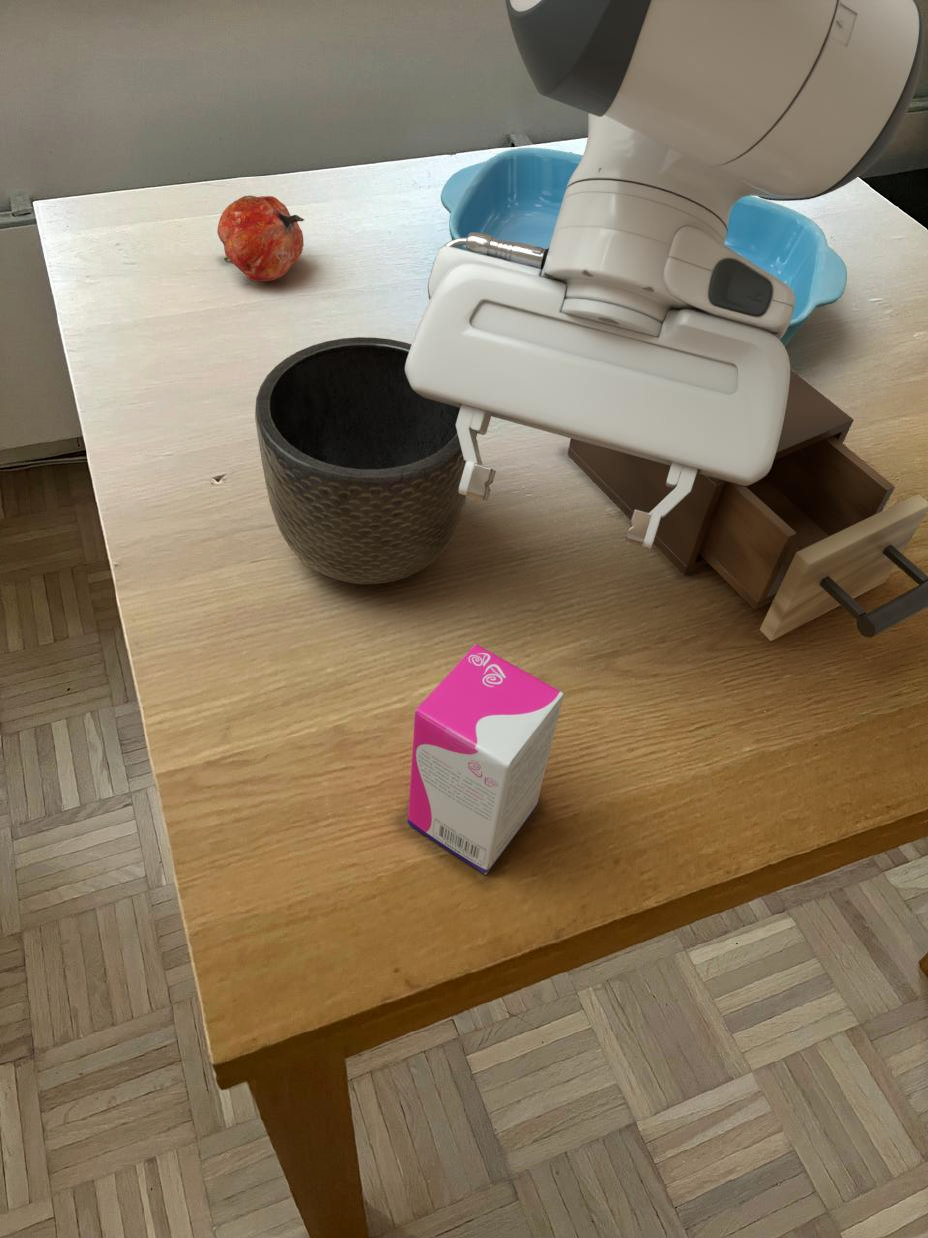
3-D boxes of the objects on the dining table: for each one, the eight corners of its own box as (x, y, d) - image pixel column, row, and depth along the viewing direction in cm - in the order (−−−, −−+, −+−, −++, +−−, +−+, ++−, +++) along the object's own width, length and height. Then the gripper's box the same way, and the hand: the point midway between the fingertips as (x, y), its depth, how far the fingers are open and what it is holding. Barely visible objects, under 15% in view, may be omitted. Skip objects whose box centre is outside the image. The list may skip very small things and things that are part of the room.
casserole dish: (831, 280, 101) (858, 211, 95) (809, 415, 87) (839, 344, 81) (476, 196, 106) (482, 126, 100) (402, 311, 92) (404, 238, 86)
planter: (281, 473, 77) (269, 328, 67) (465, 483, 78) (479, 341, 68) (257, 614, 69) (238, 471, 59) (464, 625, 69) (480, 485, 59)
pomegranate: (218, 308, 94) (288, 275, 87) (176, 231, 91) (246, 191, 85) (269, 279, 99) (339, 247, 92) (231, 205, 96) (300, 166, 90)
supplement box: (540, 803, 61) (569, 693, 52) (485, 878, 58) (507, 773, 49) (460, 753, 63) (475, 638, 54) (403, 823, 60) (409, 712, 51)
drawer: (938, 629, 71) (991, 552, 65) (822, 694, 67) (867, 618, 61) (759, 468, 80) (791, 389, 74) (647, 516, 76) (671, 436, 70)
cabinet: (808, 516, 79) (854, 419, 71) (684, 574, 74) (719, 476, 66) (687, 408, 86) (717, 309, 79) (567, 454, 81) (587, 353, 74)
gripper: (432, 204, 53) (361, 464, 54) (828, 301, 50) (741, 574, 51) (455, 241, 59) (390, 474, 60) (807, 329, 56) (730, 572, 57)
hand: (554, 521), depth 56 cm, fingers open, 8 cm apart
